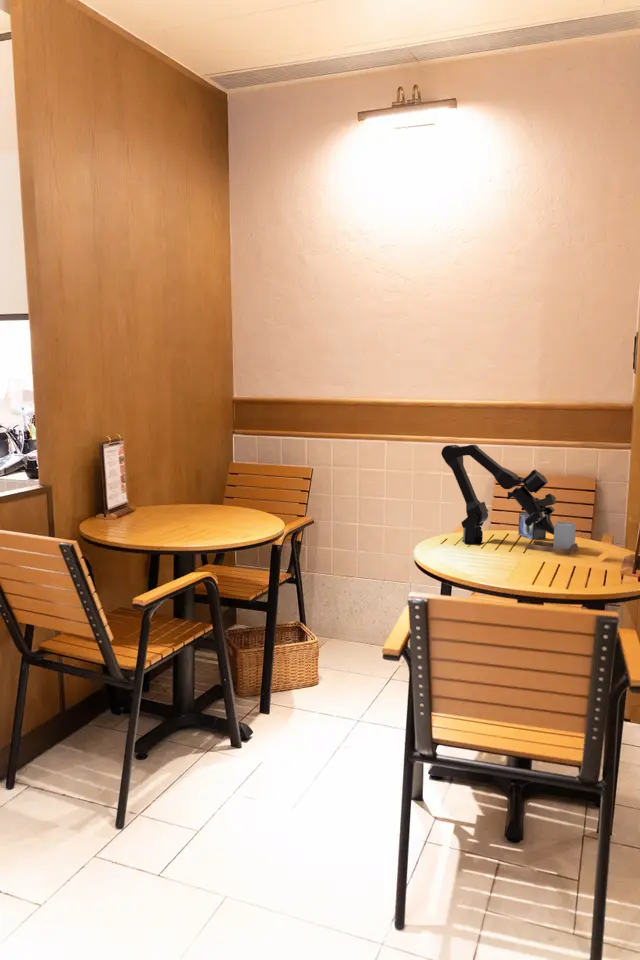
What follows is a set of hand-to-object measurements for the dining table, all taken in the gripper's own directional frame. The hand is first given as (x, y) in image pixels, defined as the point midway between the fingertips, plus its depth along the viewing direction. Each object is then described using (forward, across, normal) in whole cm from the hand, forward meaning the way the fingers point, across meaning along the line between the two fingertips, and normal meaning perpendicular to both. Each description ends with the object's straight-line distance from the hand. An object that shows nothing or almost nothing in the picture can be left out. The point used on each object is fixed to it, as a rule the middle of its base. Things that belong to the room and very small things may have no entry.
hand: (555, 534), depth 280 cm
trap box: (+4, 0, +6) cm, 7 cm away
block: (+6, 0, +2) cm, 7 cm away
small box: (-5, +19, +16) cm, 25 cm away
